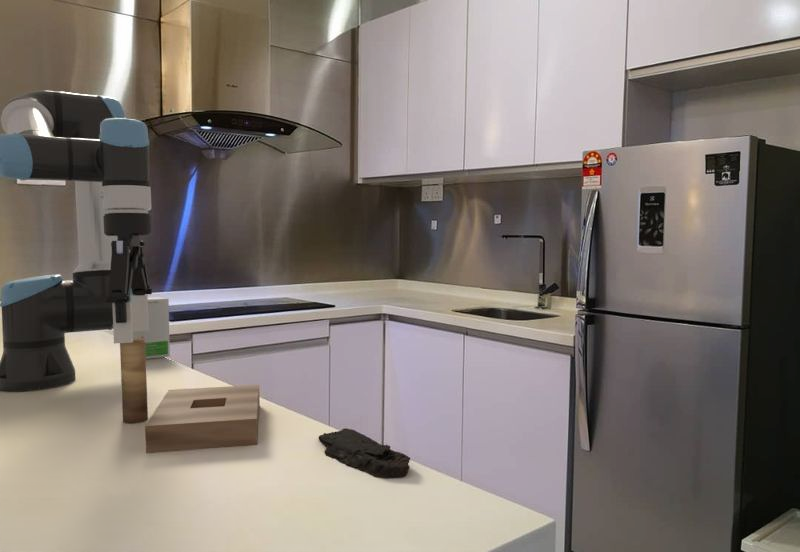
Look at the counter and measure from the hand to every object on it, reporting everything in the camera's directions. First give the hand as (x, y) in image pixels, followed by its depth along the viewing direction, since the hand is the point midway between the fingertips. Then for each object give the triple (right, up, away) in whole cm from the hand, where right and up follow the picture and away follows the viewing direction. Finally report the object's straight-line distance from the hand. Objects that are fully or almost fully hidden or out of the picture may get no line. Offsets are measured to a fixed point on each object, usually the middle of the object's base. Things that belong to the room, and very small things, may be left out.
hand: (132, 336), depth 108 cm
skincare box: (-20, -11, +58) cm, 63 cm away
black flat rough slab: (+40, -16, -17) cm, 46 cm away
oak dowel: (0, -15, +1) cm, 15 cm away
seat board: (+14, -15, -3) cm, 21 cm away
